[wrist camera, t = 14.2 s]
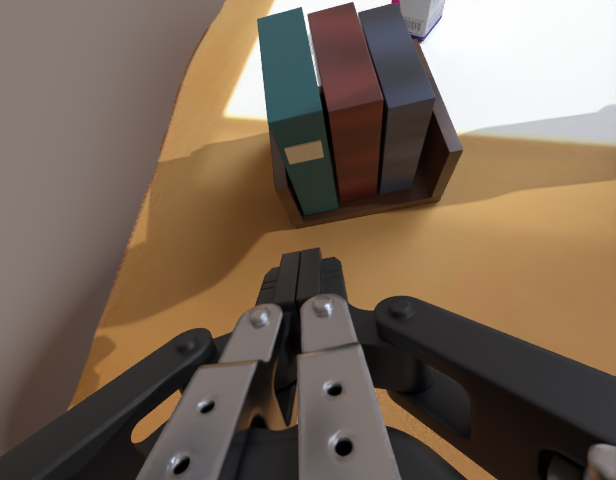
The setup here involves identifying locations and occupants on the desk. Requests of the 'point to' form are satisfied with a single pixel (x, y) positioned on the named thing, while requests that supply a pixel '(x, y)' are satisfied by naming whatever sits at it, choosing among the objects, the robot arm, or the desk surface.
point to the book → (296, 109)
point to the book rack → (374, 117)
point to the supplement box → (420, 15)
